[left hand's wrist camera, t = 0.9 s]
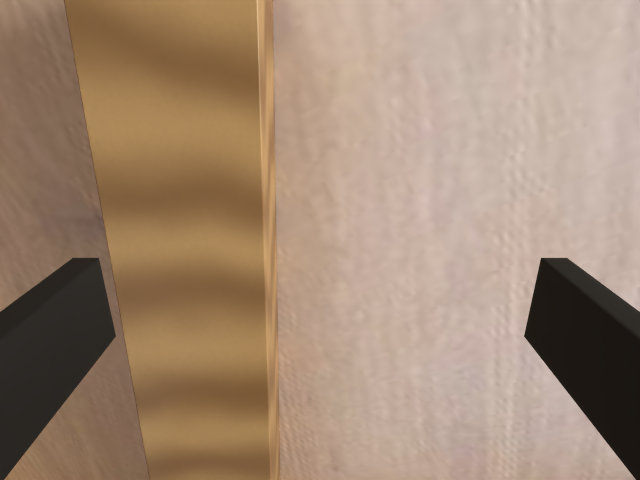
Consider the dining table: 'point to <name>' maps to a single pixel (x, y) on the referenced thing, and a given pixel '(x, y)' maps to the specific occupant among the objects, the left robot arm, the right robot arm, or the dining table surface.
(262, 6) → the thick board
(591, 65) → the dining table surface
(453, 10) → the dining table surface
